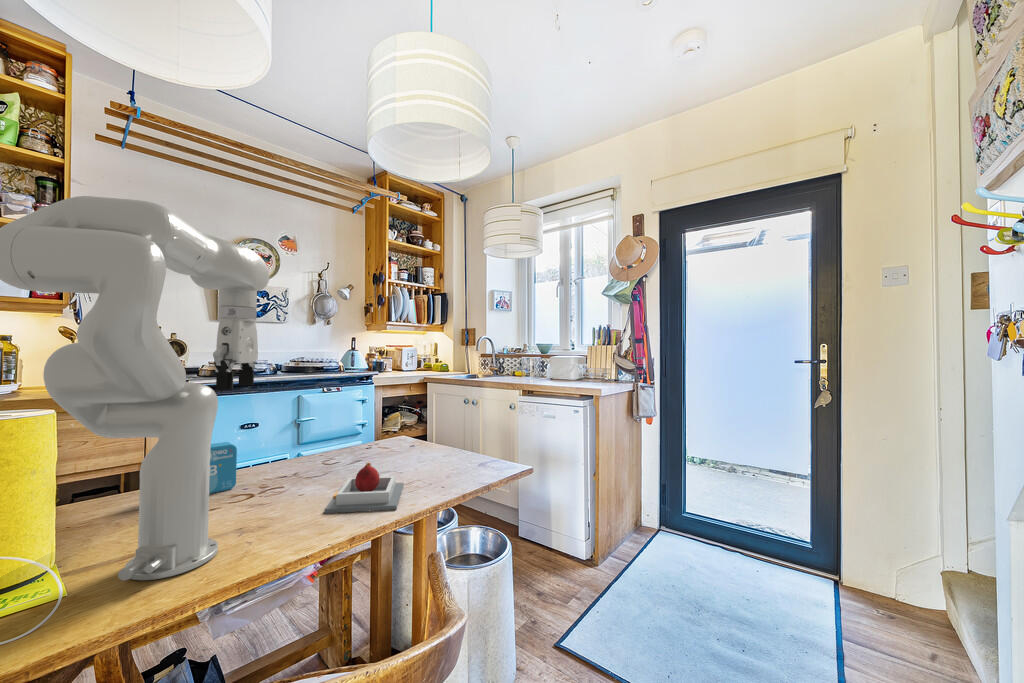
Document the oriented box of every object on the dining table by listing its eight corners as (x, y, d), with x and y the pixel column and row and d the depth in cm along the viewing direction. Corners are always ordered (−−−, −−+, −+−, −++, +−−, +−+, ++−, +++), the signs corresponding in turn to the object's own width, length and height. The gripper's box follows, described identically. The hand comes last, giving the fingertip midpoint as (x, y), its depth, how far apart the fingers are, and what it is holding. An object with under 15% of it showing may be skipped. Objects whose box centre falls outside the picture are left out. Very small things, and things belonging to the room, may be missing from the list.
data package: (178, 500, 98) (179, 451, 98) (175, 496, 101) (176, 448, 101) (236, 488, 107) (237, 443, 107) (231, 484, 110) (232, 440, 110)
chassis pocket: (396, 509, 94) (396, 494, 94) (324, 513, 92) (324, 498, 92) (403, 486, 110) (403, 473, 110) (342, 488, 108) (342, 475, 108)
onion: (374, 499, 98) (374, 466, 98) (350, 498, 98) (351, 465, 98) (382, 490, 104) (383, 459, 104) (360, 490, 104) (361, 459, 104)
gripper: (236, 312, 87) (234, 391, 87) (270, 318, 104) (269, 384, 104) (197, 311, 86) (195, 391, 85) (238, 317, 103) (237, 384, 103)
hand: (235, 387), depth 95 cm, fingers open, 9 cm apart
